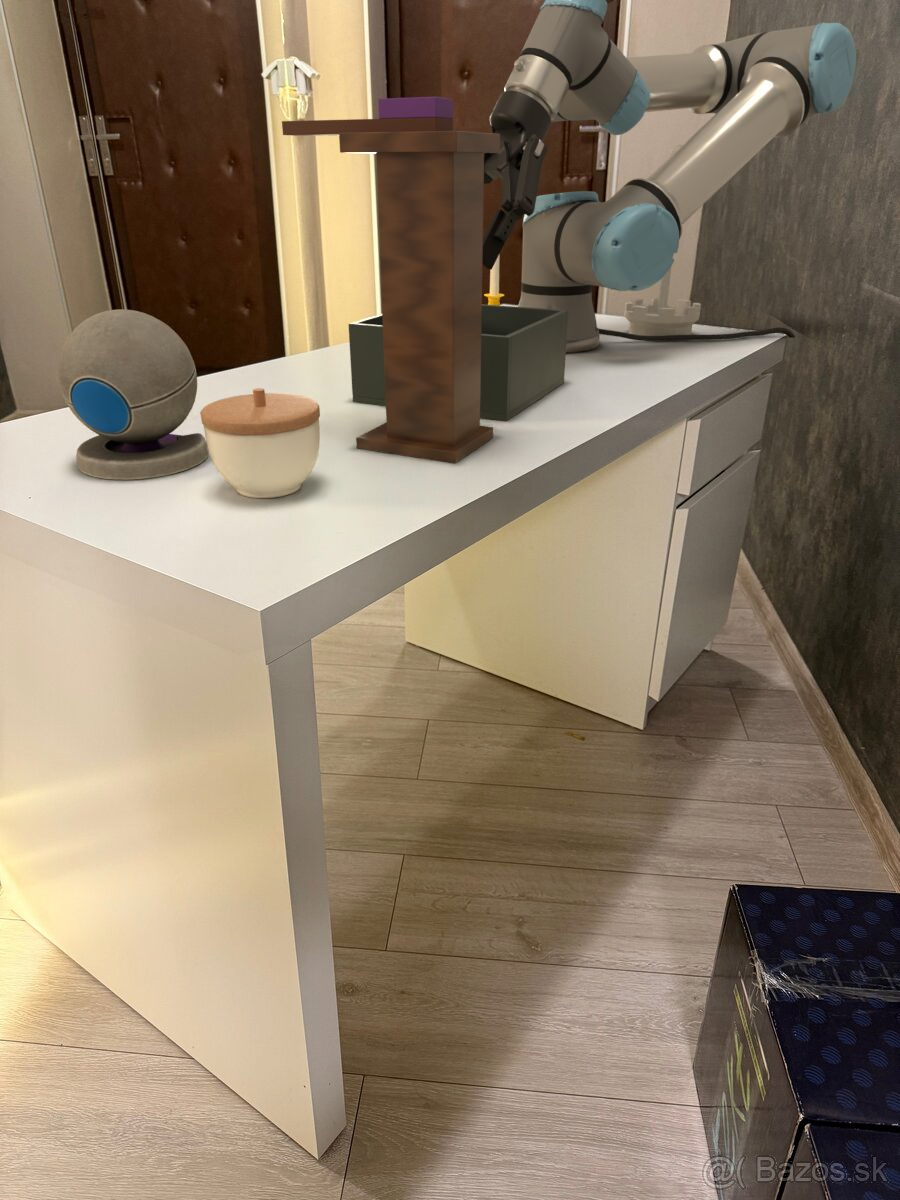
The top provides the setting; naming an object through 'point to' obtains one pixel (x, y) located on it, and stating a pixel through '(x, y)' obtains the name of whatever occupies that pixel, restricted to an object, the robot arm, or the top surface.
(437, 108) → the scrub brush
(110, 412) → the webcam
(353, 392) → the dark green open box
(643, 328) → the flag stand
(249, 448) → the trinket box
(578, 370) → the top surface
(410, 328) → the shelf stand
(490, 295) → the candle
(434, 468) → the top surface
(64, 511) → the top surface
